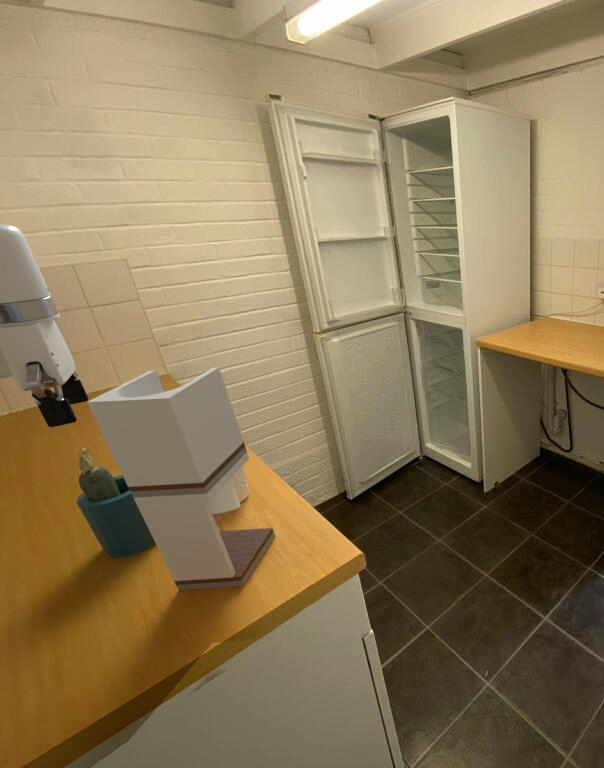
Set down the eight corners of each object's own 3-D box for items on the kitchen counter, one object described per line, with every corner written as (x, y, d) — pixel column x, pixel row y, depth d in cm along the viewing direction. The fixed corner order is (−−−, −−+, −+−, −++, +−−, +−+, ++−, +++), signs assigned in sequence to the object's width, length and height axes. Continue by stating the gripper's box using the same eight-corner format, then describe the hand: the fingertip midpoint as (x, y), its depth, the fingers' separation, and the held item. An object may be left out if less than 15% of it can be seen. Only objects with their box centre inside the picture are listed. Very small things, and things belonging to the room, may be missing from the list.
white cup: (238, 483, 96) (225, 446, 92) (260, 492, 93) (247, 454, 89) (202, 503, 90) (187, 465, 86) (225, 514, 87) (209, 474, 83)
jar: (96, 565, 75) (66, 513, 70) (116, 531, 83) (90, 481, 78) (162, 547, 79) (137, 496, 74) (174, 516, 87) (153, 467, 82)
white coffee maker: (243, 585, 70) (168, 398, 56) (178, 590, 70) (86, 402, 56) (275, 536, 80) (218, 367, 66) (218, 539, 80) (150, 370, 66)
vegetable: (134, 545, 78) (70, 460, 69) (116, 544, 79) (51, 460, 70) (156, 527, 82) (98, 444, 73) (138, 526, 83) (79, 444, 74)
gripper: (5, 305, 67) (52, 401, 74) (-41, 327, 54) (22, 441, 61) (68, 299, 71) (108, 390, 78) (40, 318, 58) (91, 426, 65)
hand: (70, 412), depth 69 cm, fingers open, 9 cm apart
